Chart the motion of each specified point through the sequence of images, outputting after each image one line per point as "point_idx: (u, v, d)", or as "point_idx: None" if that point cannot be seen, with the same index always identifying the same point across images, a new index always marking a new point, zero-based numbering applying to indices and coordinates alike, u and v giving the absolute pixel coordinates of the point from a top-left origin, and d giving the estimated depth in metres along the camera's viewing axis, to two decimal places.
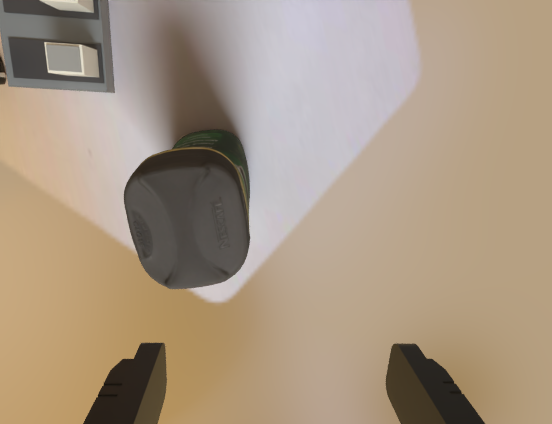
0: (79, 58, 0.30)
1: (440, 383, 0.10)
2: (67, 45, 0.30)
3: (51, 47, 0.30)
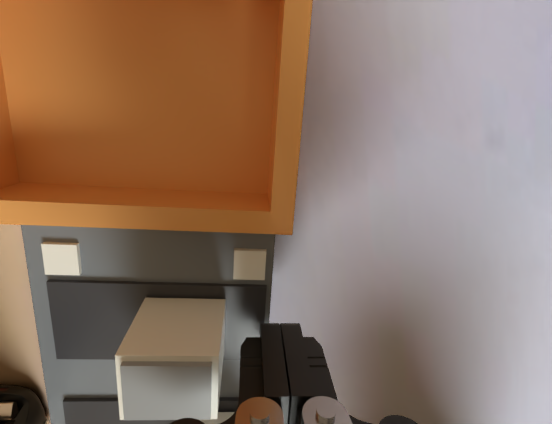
0: None
1: (304, 357, 0.11)
2: None
3: None
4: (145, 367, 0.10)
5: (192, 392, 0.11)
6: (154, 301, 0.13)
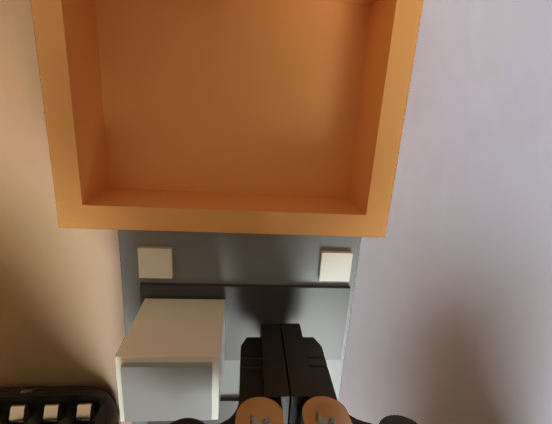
0: None
1: (304, 357, 0.11)
2: None
3: None
4: (146, 368, 0.10)
5: (193, 393, 0.11)
6: (154, 302, 0.13)
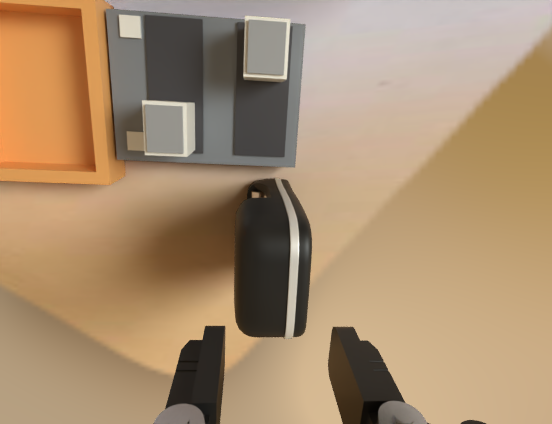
0: (265, 22, 0.19)
1: (366, 361, 0.11)
2: (247, 39, 0.19)
3: (251, 64, 0.19)
4: (147, 139, 0.20)
5: (163, 115, 0.20)
6: None
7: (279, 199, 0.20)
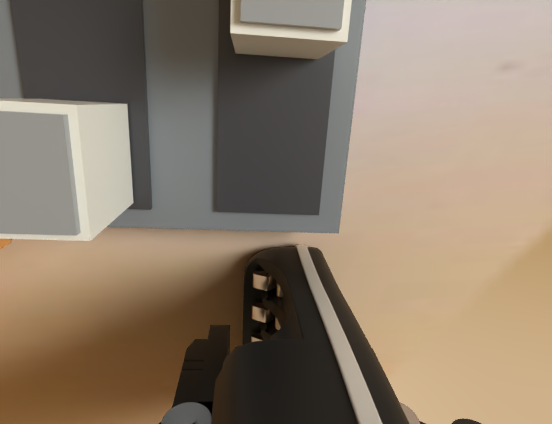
0: None
1: None
2: None
3: None
4: None
5: (11, 139, 0.07)
6: None
7: (325, 350, 0.08)
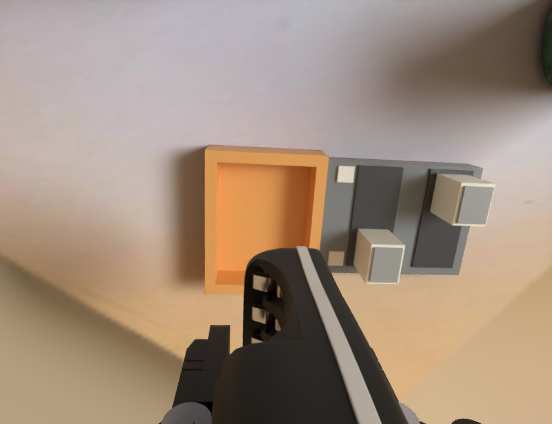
0: (476, 187, 0.24)
1: None
2: (460, 199, 0.24)
3: (461, 217, 0.24)
4: (372, 273, 0.25)
5: (387, 255, 0.25)
6: (354, 260, 0.28)
7: (325, 351, 0.08)
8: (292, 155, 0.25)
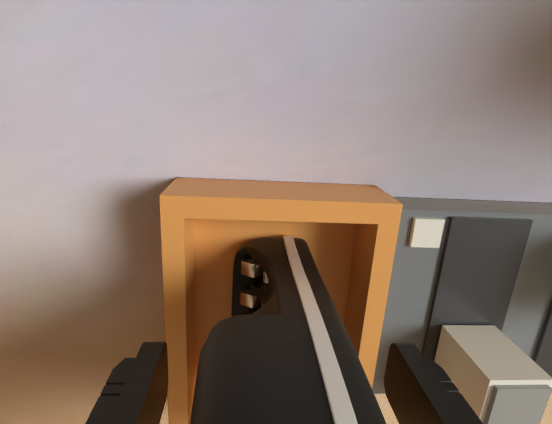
0: None
1: (437, 382, 0.10)
2: None
3: None
4: None
5: (519, 401, 0.12)
6: None
7: (300, 323, 0.09)
8: (332, 203, 0.13)
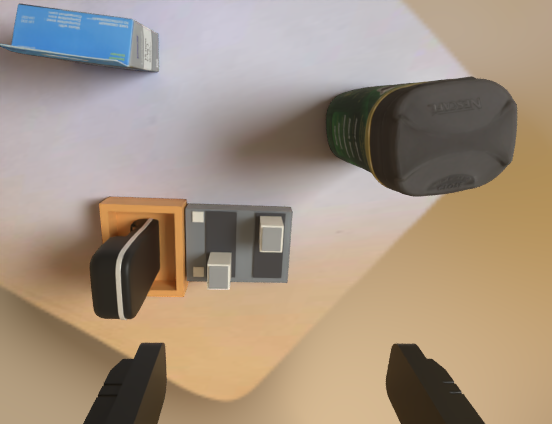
0: (271, 228, 0.37)
1: (440, 383, 0.10)
2: (261, 235, 0.37)
3: (263, 247, 0.37)
4: (209, 282, 0.38)
5: (218, 271, 0.38)
6: None
7: (129, 237, 0.34)
8: (157, 206, 0.38)
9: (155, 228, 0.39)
